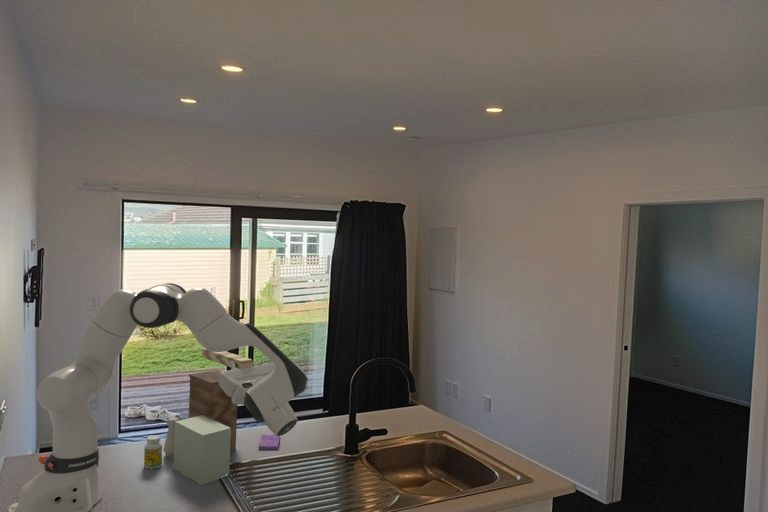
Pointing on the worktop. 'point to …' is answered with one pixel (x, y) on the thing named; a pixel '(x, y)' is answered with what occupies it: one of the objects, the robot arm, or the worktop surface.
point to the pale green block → (202, 449)
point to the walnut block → (212, 401)
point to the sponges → (269, 442)
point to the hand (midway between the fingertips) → (238, 361)
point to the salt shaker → (170, 437)
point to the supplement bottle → (153, 452)
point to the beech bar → (226, 358)
